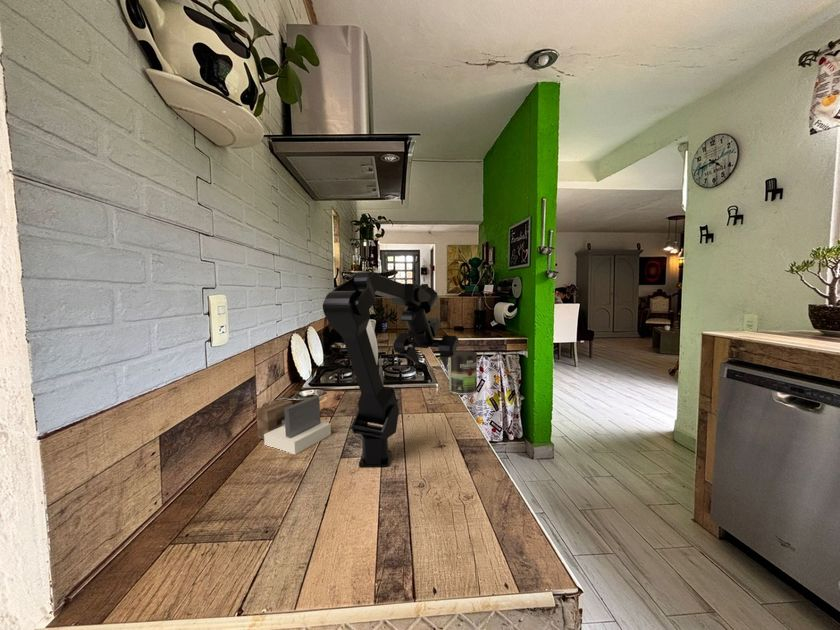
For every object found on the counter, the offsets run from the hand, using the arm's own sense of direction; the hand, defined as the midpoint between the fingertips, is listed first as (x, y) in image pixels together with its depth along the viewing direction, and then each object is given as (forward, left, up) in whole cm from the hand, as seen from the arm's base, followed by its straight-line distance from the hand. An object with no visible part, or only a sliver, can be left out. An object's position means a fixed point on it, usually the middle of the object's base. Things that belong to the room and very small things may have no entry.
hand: (432, 364), depth 103 cm
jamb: (-13, +42, -15) cm, 47 cm away
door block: (-17, +35, -15) cm, 41 cm away
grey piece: (-16, +36, -12) cm, 41 cm away
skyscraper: (+27, +24, -15) cm, 39 cm away
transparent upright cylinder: (+22, -11, -15) cm, 29 cm away
